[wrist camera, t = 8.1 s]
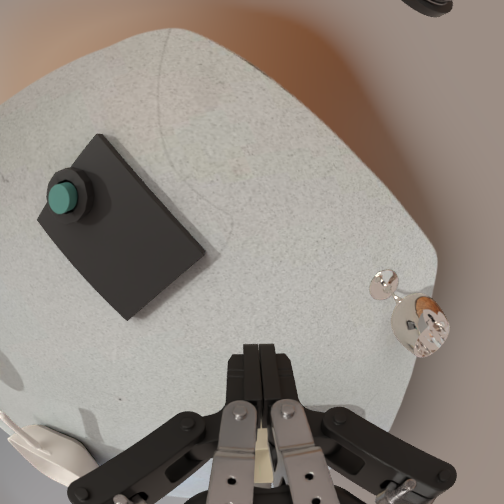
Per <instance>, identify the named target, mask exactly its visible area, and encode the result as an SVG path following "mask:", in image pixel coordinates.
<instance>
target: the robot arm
mask: <svg viewBox="0 0 504 504" xmlns="http://www.w3.org/2000/svg"><path fill="white" fill-rule="evenodd" d="M425 1H427V2H428V3H431V4H433V5H437V6H443V5H445V4H447V3H448V2H450V1H452V0H425ZM261 423H262V428H267V434H268V437H267V445H268V450H269V456H270V461H271V466H272V472H273V484H274V488H269V489H268V488H261V487H255V486H254V470H255V447H256V441H257V432H258V429H260V428H261ZM210 458H213V462H212V469H211V475H210V481H209V488H208V490H206V491H203V492H201V493H198V494H196V495H195V496H193V497H191V498H190V499H189V500H187V501H186V502H185V503H184V504H366V503H365V502H363V501H361V500H360V499H359V498H357V497H356V496H354V495H353V494H351V493H350V492H348V491H347V490H345V489H343V488H341V487H339V486H336V485H333V481H332V478H331V475H330V472H329V469H328V466H329V467H331V468H332V469H334V470H335V471H337V472H338V473H340V474H341V475H343V476H344V477H346V478H348V479H349V480H351V481H352V482H354V483H356V484H357V485H359V486H361V487H362V488H364V489H366V490H367V491H369V492H371V493H372V494H374V495H376V504H432V503H433V502H434V500H435V498H436V497H437V496H439V495H440V494H442V493H443V492H445V491H446V490H448V489H449V488H450V487H452V486H453V484H454V483H455V481H456V477H457V473H456V470H455V468H454V467H453V466H452V465H451V464H449V463H447V462H444V461H442V460H440V459H438V458H436V457H434V456H432V455H430V454H428V453H425V452H424V451H422V450H420V449H418V448H416V447H414V446H412V445H410V444H408V443H406V442H404V441H402V440H401V439H399V438H397V437H395V436H393V435H391V434H390V433H388V432H386V431H384V430H383V429H381V428H379V427H377V426H376V425H374V424H372V423H370V422H369V421H367V420H365V419H364V418H362V417H360V416H359V415H357V414H355V413H354V412H352V411H350V410H349V409H347V408H344V407H334V408H331V409H329V410H328V411H327V412H326V413H324V412H317V411H312V410H309V409H307V408H305V407H304V406H303V405H302V404H301V403H300V401H299V399H298V394H297V389H296V385H295V380H294V376H293V370H292V366H291V361H290V359H289V358H288V357H287V356H286V354H285V353H282V354H276V353H275V347H274V344H259V350H258V344H243V354H233V355H232V356H231V358H230V359H229V361H228V371H227V390H226V403H225V406H224V407H223V408H222V410H220V411H219V412H217V413H215V414H212V415H208V416H203V417H202V416H200V415H199V414H197V413H195V412H190V411H186V412H181V413H179V414H177V415H175V416H174V417H173V418H171V419H170V420H169V421H167V422H166V423H164V424H163V425H162V426H160V427H159V428H157V429H156V430H155V431H153V432H152V433H150V434H149V435H147V436H146V437H144V438H143V439H142V440H140V441H139V442H137V443H136V444H134V445H133V446H131V447H130V448H128V449H126V450H125V451H123V452H122V453H120V454H119V455H117V456H116V457H114V458H112V459H111V460H109V461H107V462H106V463H104V464H103V465H101V466H99V467H98V468H96V469H94V470H92V471H91V472H89V473H87V474H85V475H84V476H82V477H80V478H78V479H77V480H75V481H73V482H72V483H71V484H70V485H69V487H68V490H67V495H68V498H69V500H70V502H71V503H72V504H154V503H156V502H157V501H158V500H160V499H161V498H163V497H164V496H165V495H167V494H168V493H169V492H171V491H172V490H173V489H175V488H176V487H177V486H178V485H180V484H181V483H182V482H184V481H185V480H186V479H187V478H189V477H190V476H191V475H192V474H193V473H195V472H196V471H197V470H198V469H199V468H201V467H202V466H203V465H204V464H205V463H206V462H207V461H209V459H210ZM327 465H328V466H327Z"/></svg>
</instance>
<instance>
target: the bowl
mask: <svg viewBox="0 0 504 504" xmlns="http://www.w3.org/2000/svg"><path fill="white" fill-rule="evenodd" d="M267 437H268V434H267V428H262V423H261V428H260V429H258V432H257V441H256V447H255V470H254V483H272V482H273V472H272V466H271V461H270V456H269V450H268V445H267Z"/></svg>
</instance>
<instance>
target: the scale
mask: <svg viewBox="0 0 504 504" xmlns="http://www.w3.org/2000/svg"><path fill="white" fill-rule="evenodd" d="M64 182H69V183H71V184H73V185H74V187H75V188H76V190H77V194H78V200H77V204H76V206H75V207H74V208H73V209H72V210H70V211H67V212H65V213H63V214H57V213H55V212H54V211H53V210H52V209H51V207H50V205H49V192H50V190H51V189H52V187H53V186H55V185H57V184H61V183H64ZM46 197H47V203H46V205H45V207H44V208H43V210H42V212H41V213H40V215H39V217H38V219H37V221H38V222H39V223H40V225H41V226H42V227H43V229H44V230H45V231H46V233H47V234H48V235H49V237H50V238H51V239H52V240H53V242H54V243H55V244H56V245H57V247H58V248H59V249H60V250H61V252H62V253H63V254H64V255H65V256H66V257H67V259H68V260H69V261H70V262H71V263H72V265H73V266H74V267H75V268H76V269H77V270H78V271H79V272H80V274H81V275H82V276H83V277H84V278H85V279H86V280H87V281H88V282H89V283H90V285H91V286H92V287H93V288H94V289H95V290H96V291H97V292H98V293H99V294H100V295H101V296H102V297H103V298H104V299H105V300H106V301H107V302H108V303H109V304H110V305H111V306H112V307H113V308H114V309H115V310H116V311H117V312H118V313H119V314H120V315H121V316H122V317H123V318H124V319H125V320H127V321H128V320H129V319H130V318H131V317H133V316H134V315H135V314H136V313H137V312H138V311H139V310H141V309H142V308H143V307H144V306H145V305H146V304H147V303H149V302H150V301H151V300H152V299H153V298H154V297H155V296H157V295H158V294H159V293H160V292H161V291H162V290H164V289H165V288H166V287H167V286H168V285H169V284H171V283H172V282H173V281H174V280H175V279H176V278H178V277H179V276H180V275H181V274H182V273H183V272H185V271H186V270H187V269H188V268H189V267H191V266H192V265H193V264H194V263H195V262H196V261H198V260H199V259H200V258H201V257H202V256H204V253H205V250H204V249H203V248H202V246H201V245H200V244H199V243H198V242H197V241H196V240H195V239H194V238H193V237H192V236H191V235H190V233H189V232H188V231H187V230H186V229H185V228H184V227H183V226H182V225H181V224H180V223H179V221H178V220H177V219H176V218H175V217H174V216H173V215H172V214H171V213H170V211H169V210H168V209H167V208H166V207H165V206H164V205H163V204H162V203H161V201H160V200H159V199H158V198H157V197H156V196H155V195H154V194H153V192H152V191H151V190H150V189H149V188H148V187H147V186H146V184H145V183H144V182H143V181H142V180H141V179H140V178H139V176H138V175H137V174H136V173H135V172H134V171H133V170H132V168H131V167H130V166H129V165H128V164H127V163H126V161H125V160H124V159H123V158H122V157H121V156H120V154H119V153H118V152H117V151H116V150H115V148H114V147H113V146H112V145H111V144H110V143H109V141H108V140H107V139H106V138H105V137H104V135H103V134H96V135H95V136H94V137H93V139H92V140H91V141H90V142H89V144H88V145H87V146H86V147H85V149H84V150H83V151H82V152H81V154H80V155H79V156H78V158H77V159H76V160H75V162H74V163H73V164H72V166H71V167H70V168H65V169H63V170H60V171H58V172H56V173H55V174H54V175H53V177H52V179H51V180H50V182H49V184H48V189H47V196H46Z"/></svg>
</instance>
